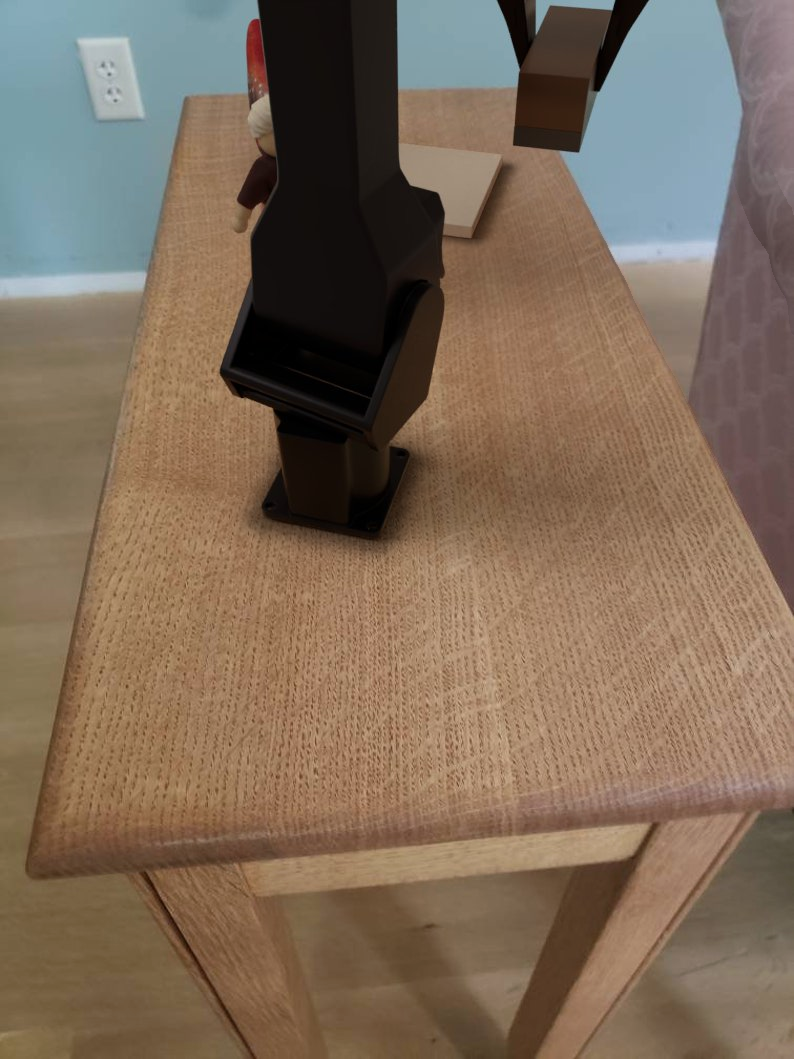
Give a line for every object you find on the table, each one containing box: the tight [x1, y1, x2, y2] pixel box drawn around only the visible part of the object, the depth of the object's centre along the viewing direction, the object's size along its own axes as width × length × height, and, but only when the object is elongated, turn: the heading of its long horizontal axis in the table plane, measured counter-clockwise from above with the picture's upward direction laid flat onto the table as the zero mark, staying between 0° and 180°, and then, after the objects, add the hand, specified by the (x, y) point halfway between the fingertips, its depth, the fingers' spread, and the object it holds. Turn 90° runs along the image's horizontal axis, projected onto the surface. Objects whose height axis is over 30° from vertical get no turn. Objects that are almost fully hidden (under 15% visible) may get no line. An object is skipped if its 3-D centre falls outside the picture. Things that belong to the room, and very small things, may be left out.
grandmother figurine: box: [231, 94, 277, 234], centre depth 55 cm, size 8×4×13 cm, turn 143°
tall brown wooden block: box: [512, 4, 612, 154], centre depth 53 cm, size 11×4×4 cm, turn 164°
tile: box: [399, 142, 504, 239], centre depth 67 cm, size 12×9×1 cm
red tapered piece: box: [245, 18, 268, 156], centre depth 65 cm, size 3×18×10 cm, turn 10°
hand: (562, 85), depth 53 cm, fingers closed on tall brown wooden block, 4 cm apart
